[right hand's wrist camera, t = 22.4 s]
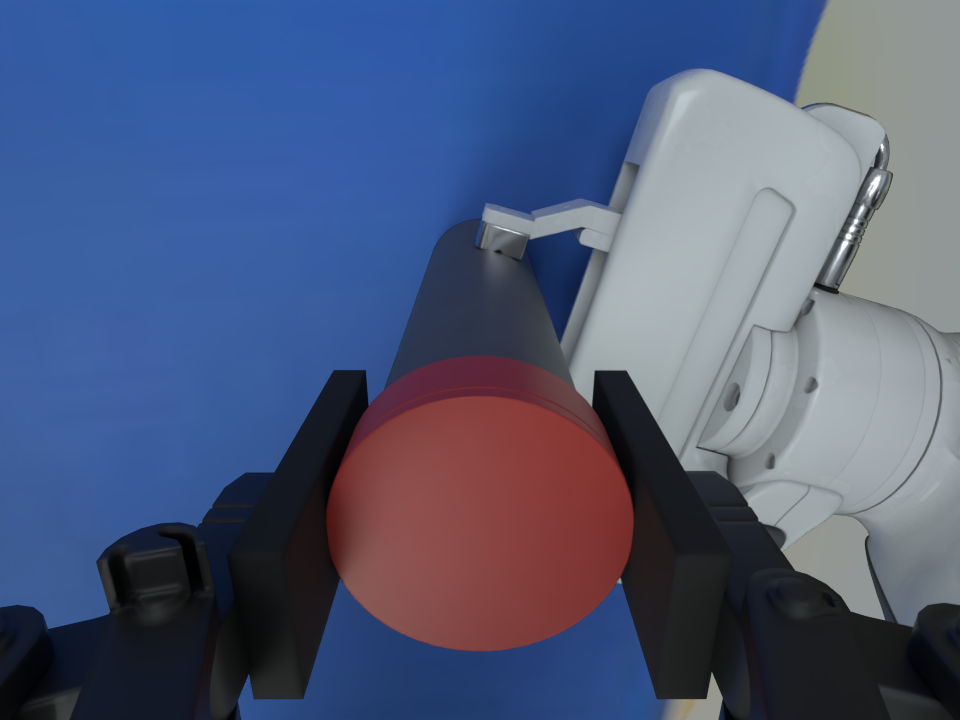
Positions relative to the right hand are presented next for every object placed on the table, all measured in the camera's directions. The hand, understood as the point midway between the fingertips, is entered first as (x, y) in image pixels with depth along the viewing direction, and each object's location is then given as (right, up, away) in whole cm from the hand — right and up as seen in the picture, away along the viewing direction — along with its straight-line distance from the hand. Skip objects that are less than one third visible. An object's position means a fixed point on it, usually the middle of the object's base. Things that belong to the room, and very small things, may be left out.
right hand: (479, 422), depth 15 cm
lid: (0, -1, -4) cm, 4 cm away
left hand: (-1, +4, +9) cm, 10 cm away
